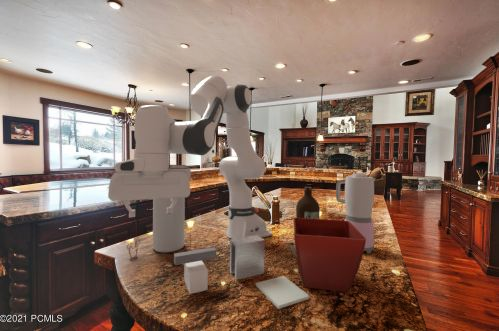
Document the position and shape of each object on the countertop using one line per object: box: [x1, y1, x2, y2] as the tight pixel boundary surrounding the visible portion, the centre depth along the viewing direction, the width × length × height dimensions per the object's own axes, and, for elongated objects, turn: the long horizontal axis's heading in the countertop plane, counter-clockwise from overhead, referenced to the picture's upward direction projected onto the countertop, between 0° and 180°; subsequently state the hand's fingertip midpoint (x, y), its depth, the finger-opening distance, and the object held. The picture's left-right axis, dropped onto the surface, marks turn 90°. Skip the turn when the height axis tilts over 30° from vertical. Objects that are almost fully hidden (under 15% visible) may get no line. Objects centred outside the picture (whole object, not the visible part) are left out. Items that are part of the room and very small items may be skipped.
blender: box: [335, 173, 377, 254], centre depth 101 cm, size 16×12×32 cm
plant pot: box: [293, 217, 366, 293], centre depth 73 cm, size 19×19×17 cm
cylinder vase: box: [152, 197, 186, 253], centre depth 98 cm, size 12×12×25 cm
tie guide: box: [229, 235, 266, 281], centre depth 77 cm, size 10×5×11 cm, turn 117°
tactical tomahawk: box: [283, 242, 297, 259], centre depth 94 cm, size 21×7×1 cm, turn 2°
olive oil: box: [295, 186, 321, 219], centre depth 108 cm, size 11×11×25 cm
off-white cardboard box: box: [183, 260, 209, 295], centre depth 69 cm, size 5×8×6 cm, turn 27°
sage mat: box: [255, 275, 310, 310], centre depth 66 cm, size 10×12×1 cm
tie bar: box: [173, 247, 217, 266], centre depth 69 cm, size 12×2×2 cm, turn 117°
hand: (151, 215), depth 63 cm, fingers open, 8 cm apart
